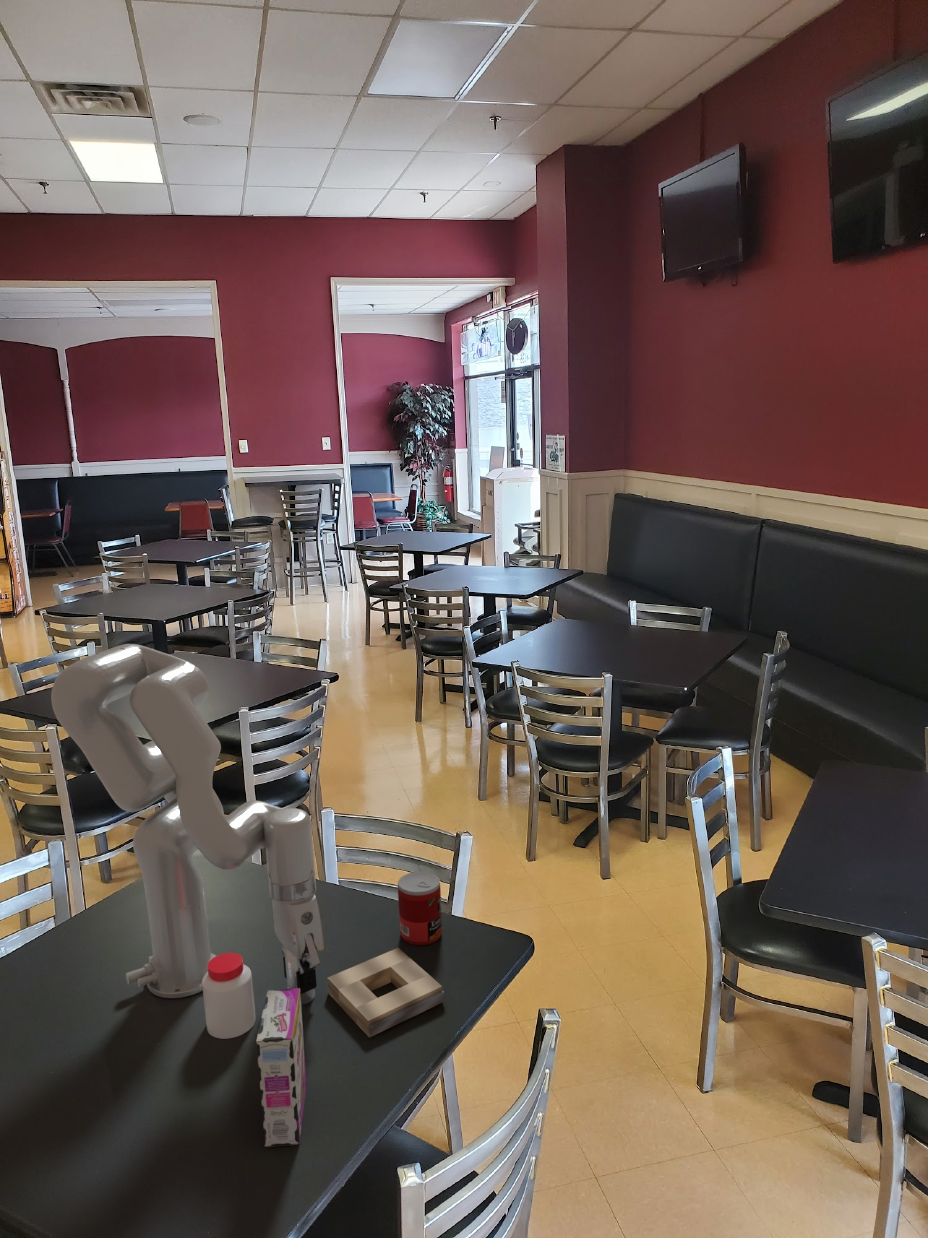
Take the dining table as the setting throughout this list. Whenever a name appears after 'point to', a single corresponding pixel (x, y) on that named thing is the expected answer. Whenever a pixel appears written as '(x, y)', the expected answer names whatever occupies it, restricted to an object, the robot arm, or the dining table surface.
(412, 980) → the frame
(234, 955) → the pill bottle
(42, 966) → the dining table surface
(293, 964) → the frosted glass cylinder
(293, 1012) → the candy bar box
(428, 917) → the canned food
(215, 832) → the robot arm
